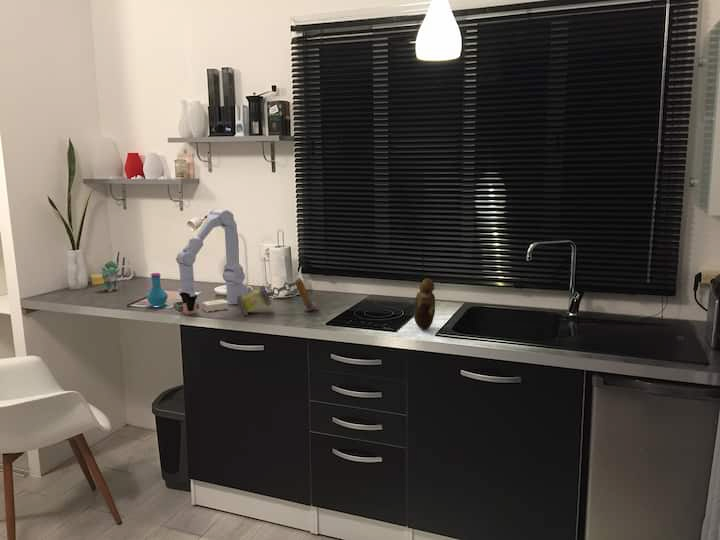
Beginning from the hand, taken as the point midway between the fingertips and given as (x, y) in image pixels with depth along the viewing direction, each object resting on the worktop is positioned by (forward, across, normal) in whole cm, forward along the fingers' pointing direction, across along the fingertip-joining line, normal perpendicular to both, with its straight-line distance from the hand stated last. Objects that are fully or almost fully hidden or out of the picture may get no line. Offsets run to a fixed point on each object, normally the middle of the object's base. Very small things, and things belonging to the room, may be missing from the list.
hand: (189, 309), depth 272 cm
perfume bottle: (+2, -21, -8) cm, 23 cm away
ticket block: (+1, 0, +12) cm, 12 cm away
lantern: (+2, +21, +33) cm, 39 cm away
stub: (+1, 0, 0) cm, 1 cm away
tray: (+1, -10, +2) cm, 10 cm away
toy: (+2, -68, -20) cm, 71 cm away
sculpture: (+2, +77, +70) cm, 104 cm away
